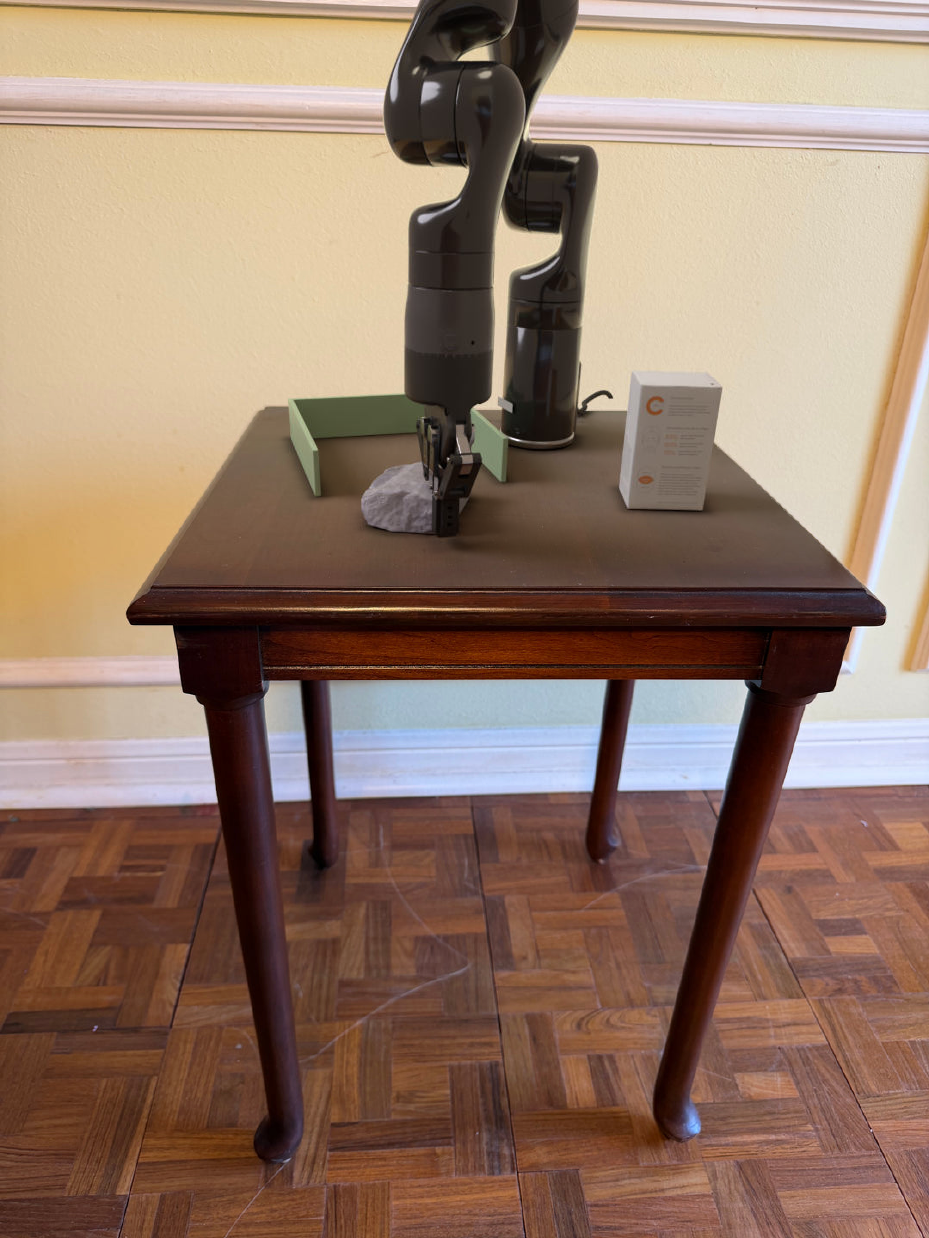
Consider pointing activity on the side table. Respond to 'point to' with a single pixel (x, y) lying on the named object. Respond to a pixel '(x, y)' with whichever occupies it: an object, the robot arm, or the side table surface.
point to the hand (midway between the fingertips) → (444, 534)
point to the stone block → (401, 500)
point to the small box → (669, 439)
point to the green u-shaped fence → (376, 427)
